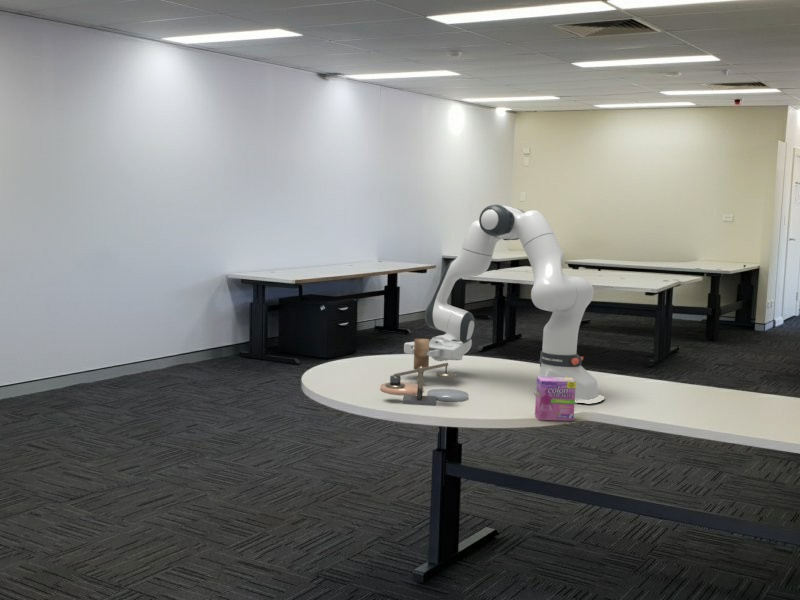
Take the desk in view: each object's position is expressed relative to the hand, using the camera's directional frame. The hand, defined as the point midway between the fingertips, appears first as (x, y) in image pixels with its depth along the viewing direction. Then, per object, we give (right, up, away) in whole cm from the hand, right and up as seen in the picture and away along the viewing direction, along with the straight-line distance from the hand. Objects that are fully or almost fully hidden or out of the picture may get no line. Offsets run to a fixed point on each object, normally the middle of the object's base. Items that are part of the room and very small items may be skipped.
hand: (420, 352), depth 281 cm
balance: (-1, -14, -24) cm, 27 cm away
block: (0, -5, +1) cm, 6 cm away
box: (+38, -17, -37) cm, 56 cm away
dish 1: (-6, -12, -8) cm, 15 cm away
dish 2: (+8, -13, -15) cm, 22 cm away
